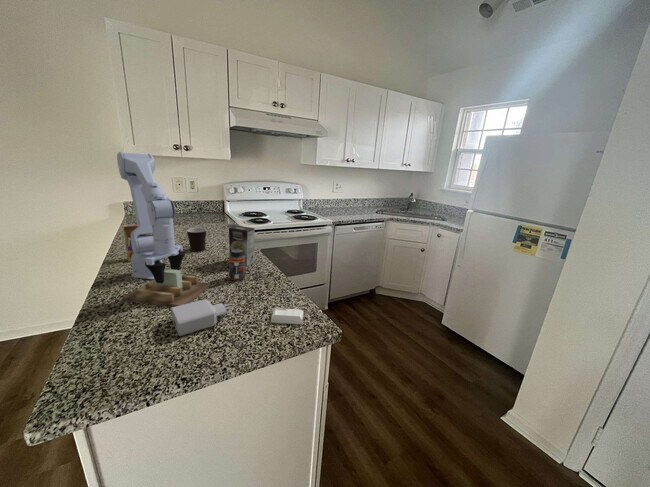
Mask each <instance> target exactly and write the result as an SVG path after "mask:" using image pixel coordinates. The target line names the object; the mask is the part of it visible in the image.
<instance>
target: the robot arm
mask: <svg viewBox="0 0 650 487" xmlns="http://www.w3.org/2000/svg"><path fill="white" fill-rule="evenodd" d="M116 154H117V155H116V162H117V167H118V172H119V175H120V178H121V179H123V180H125V181H127V183H128V185H129V190H130V194H131V199H132V204H133V209H134V213H135V218H136V219H135V220H136V224H138V227H137V228H136V229H135V230H134V231H133V232H132V233H131V235H130V236H131V246H132V250H133V252H134V254H133V255H132V257H131V261H130V263H131V270H132V274H131V276H130V277H132V278H137V279H146V280H154V278H155V281H156V283H164V269H166V265H167V263H164V262H163V260H164V259H166V258H167V259H168V261H169V265H170V269H173V270H181V266H182V262H183V259H184V258H185V256H186V253H185V252H183V251H184V248H183V245H181V244H176V242H175V240H176V239H175V230H174V218H175V216H176V208H175V204H174V203H175V202H174V201H173V200H172V198H170V197H167V196H166V193H165V192H164V189H163V187H162V185H161V184H160V183H158V182H156V180H155V177H154V172H155V168H156V162H155V159H154V156H153V155H152V154H151V153H135V152H134V153H132V152H122V151H119V152H118V153H116ZM143 234H150V235H146V236H138V235H143Z"/></svg>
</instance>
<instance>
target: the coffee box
mask: <svg viewBox="0 0 650 487" xmlns="http://www.w3.org/2000/svg"><path fill="white" fill-rule="evenodd" d="M255 230H256V228H255V227H249V226H244V225H234V226H233V225H232V226H230V227H228V244H229V245H228V246H229V248H228V249H229V252H228V253H229V256H231V255H232V254H231V251H232V250H234V249H240V250H242V253H243V255H244V256H245V267H248V266H250V265H252V264H253V263H255Z"/></svg>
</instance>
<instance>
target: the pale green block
mask: <svg viewBox="0 0 650 487" xmlns="http://www.w3.org/2000/svg"><path fill="white" fill-rule="evenodd" d="M182 275H183V273H182V270H181V269H180V270H173V269H171V268H165V269H164V283H156V281H155V278H154V282H155V285H163V286H171V287H179V288H182V290H183V286H182Z"/></svg>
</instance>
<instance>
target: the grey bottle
mask: <svg viewBox="0 0 650 487" xmlns="http://www.w3.org/2000/svg"><path fill="white" fill-rule="evenodd" d="M232 308H233V307H232V306H230V304H229V303H228V304H223V303H222V302H221V303H217V304H212V303H211V302H210V300H208V299H202V300H201V299H200V300H198V301H197V300H196V301H191V302H190V303H188V304H184V305H180V306H176V307H170V311H171V312H170V314H171V321H172V323H173V325H174V327H175V331H176V332H177V334H178V336H179V337H182V336H185V335H188V334H191V333H195V332H198V331H202V330H204V329H207V328H211V327H214V326H216V325H217V322H218V316H223V315H227V314H228V312H227V310H229V309H232Z"/></svg>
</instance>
